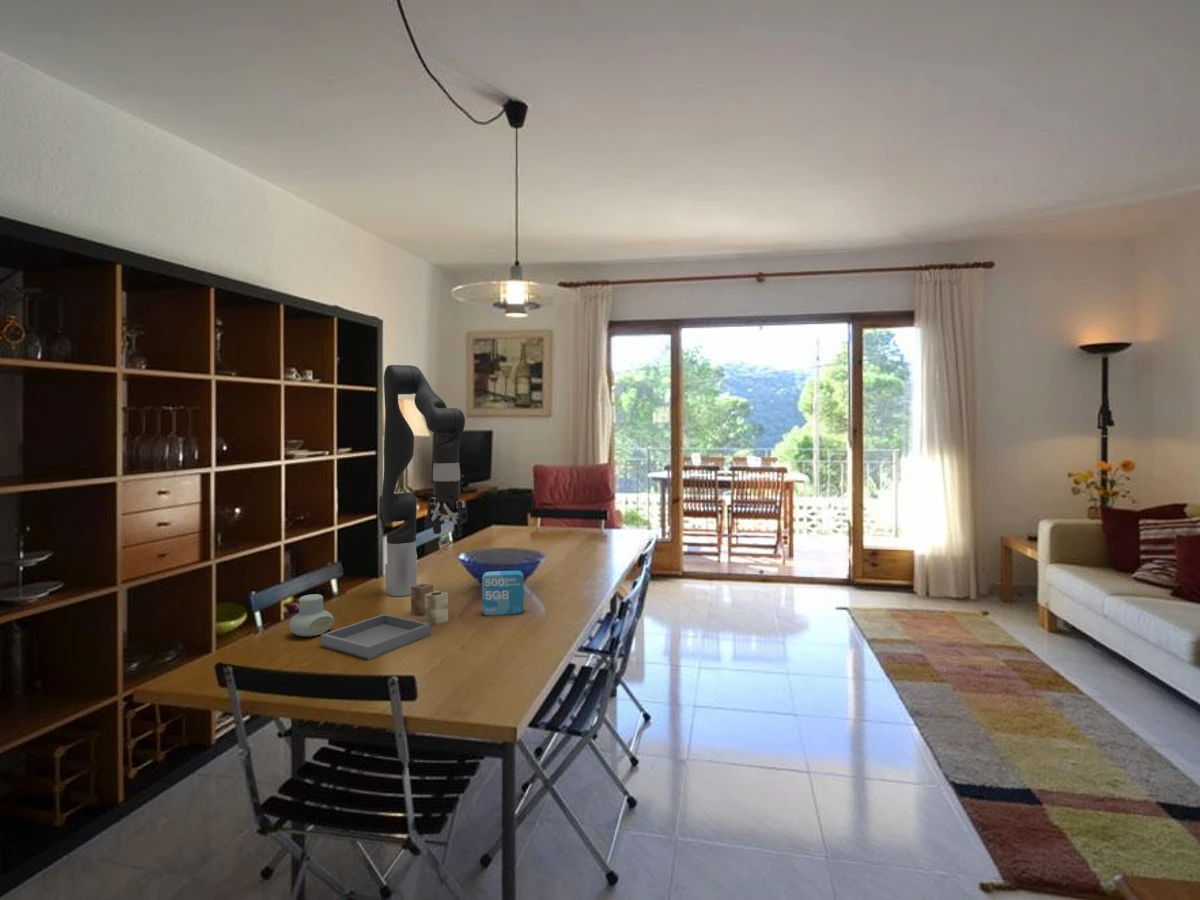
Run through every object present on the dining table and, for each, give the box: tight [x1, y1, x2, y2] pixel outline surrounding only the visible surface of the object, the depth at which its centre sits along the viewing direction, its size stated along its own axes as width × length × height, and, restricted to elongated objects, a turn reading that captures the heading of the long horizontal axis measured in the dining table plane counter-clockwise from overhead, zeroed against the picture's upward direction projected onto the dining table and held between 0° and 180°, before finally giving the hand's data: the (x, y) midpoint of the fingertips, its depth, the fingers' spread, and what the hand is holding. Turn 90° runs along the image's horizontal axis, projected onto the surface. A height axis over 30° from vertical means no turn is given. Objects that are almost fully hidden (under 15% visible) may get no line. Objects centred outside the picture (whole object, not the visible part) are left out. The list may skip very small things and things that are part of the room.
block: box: [424, 590, 449, 626], centre depth 178 cm, size 4×4×8 cm
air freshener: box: [288, 593, 335, 638], centre depth 169 cm, size 11×8×10 cm
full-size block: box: [410, 583, 434, 616], centre depth 187 cm, size 4×4×8 cm
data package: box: [481, 570, 525, 617], centre depth 186 cm, size 12×4×12 cm, turn 98°
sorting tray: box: [320, 613, 432, 661], centre depth 163 cm, size 18×20×3 cm
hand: (447, 535), depth 179 cm, fingers open, 8 cm apart
